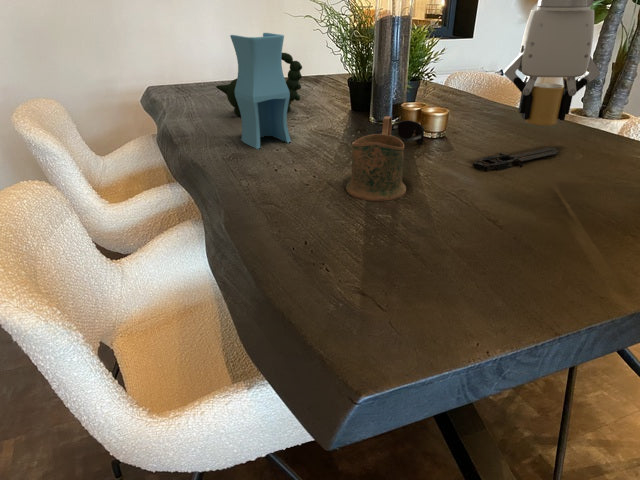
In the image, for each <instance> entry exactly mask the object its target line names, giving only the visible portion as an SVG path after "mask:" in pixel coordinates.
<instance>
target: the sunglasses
mask: <svg viewBox="0 0 640 480" xmlns="http://www.w3.org/2000/svg"><path fill="white" fill-rule="evenodd" d="M395 130H397V134H398V137H400V138H401V139H400V140H401V141H402V142H403V143H404V142H408V143H412V142H415V141H416V145H417V146H423V143H424V139H425V129H424V126H423V125H422V124H421V123H419V122H417V121H414V120H409V119H408V120H401V121H400V122H399V123H396V124H394V125H392V127H391V132H392V131H395ZM381 133H382V129H381V130H378V131H376V132H374V133H373V134H381ZM414 134H415V135H414ZM413 135H414V136H413Z"/></svg>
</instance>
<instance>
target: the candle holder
mask: <svg viewBox="0 0 640 480" xmlns="http://www.w3.org/2000/svg"><path fill="white" fill-rule="evenodd" d="M564 88H565V87H564V85H562V84H560V83H559V84H557V83H550V82H539V83H535V84H534V86H533V88H532V90H531V95H532V96H533V99H532V104H531V110H530V115H529V119H527V120H525V122H526V123H527V124H530V125H536V126H554V125H557V124H558V121H559V119H558V117H559V112H560V107H561V102H562V97H563V93H564Z"/></svg>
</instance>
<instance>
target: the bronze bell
mask: <svg viewBox="0 0 640 480" xmlns="http://www.w3.org/2000/svg"><path fill="white" fill-rule="evenodd" d="M392 126H393V118H392V116H391V115H385V116H384V117H383V118H382V129H381V130H382V132H381V133H377V134H374V133H372V134H368V135H364V136H362V137H359V138H358V139H356V140H354V141H353V142H352V144H351V145H352V147H351V149H352V151H351V177H350V181H348V182H347V184H346V188H345V189H346V190H345V191H346V192H347V193H348V194H349V195H351V196H352V197H354V198H357V199H360V200H363V201H364V200H365V201H368V202H369V201H370V202H386V201H393V200H396V199H399V198H401V197H403V196H404V195H406V193H407V187H406V184H404V182H403V167H404V160H405V159H404V157H405V143H404V142H402V141H401V140H402V139H400V138H399V137H397V136H394V135H392V131H391V127H392Z"/></svg>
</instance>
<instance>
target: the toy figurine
mask: <svg viewBox="0 0 640 480" xmlns="http://www.w3.org/2000/svg"><path fill="white" fill-rule="evenodd" d="M281 60H282V61H283V62H285V63H286V64H288V65H289V70H288V72H287V79H286V80H285V81H286V84H287V87H288V89H289V92H290V99H289V104H288V109H287V113H290V112H291V111H292V107H291V104H292V102H294V101H297V102H299V101H300V100H301V96H300V94H299V93H298V91H299V90H301V89H302V85H301V84H300V80H301V79H302V78H303V76H302V73H301V70H303V66H302V64H301V63H300V61H298V60H294V58H293V56H292V55H291V54H290V53H287V52H282V57H281ZM236 83H237V78H234V79H233V80H231V81H230V83H228V84H219V85H216V86H215V88H217V89H218V90H219V91H221V92H222V93H223V94H225V95H226V98H227V101H228V103H229V104H230V105H231V106H232V107H233V113H234V115H235V116H237V117H241V113H240V110H239V106H238V103H237V100H236V97H235V87H236Z"/></svg>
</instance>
